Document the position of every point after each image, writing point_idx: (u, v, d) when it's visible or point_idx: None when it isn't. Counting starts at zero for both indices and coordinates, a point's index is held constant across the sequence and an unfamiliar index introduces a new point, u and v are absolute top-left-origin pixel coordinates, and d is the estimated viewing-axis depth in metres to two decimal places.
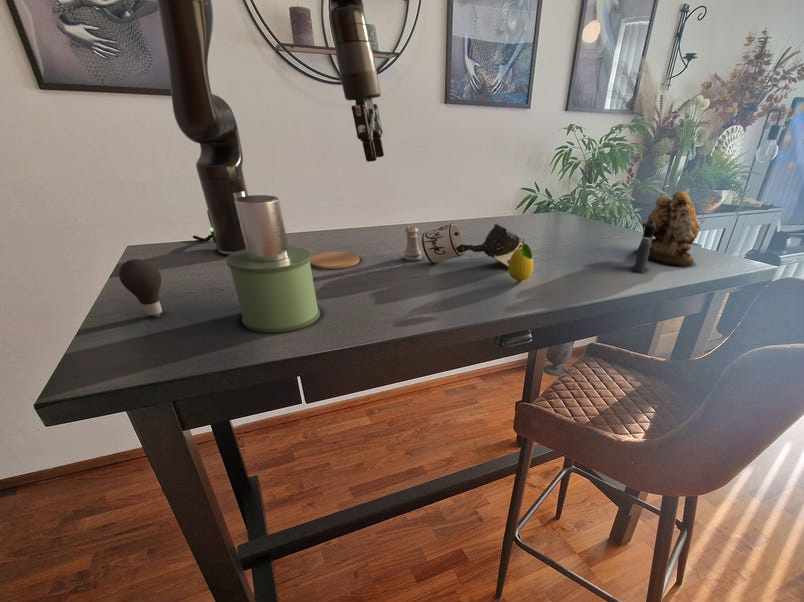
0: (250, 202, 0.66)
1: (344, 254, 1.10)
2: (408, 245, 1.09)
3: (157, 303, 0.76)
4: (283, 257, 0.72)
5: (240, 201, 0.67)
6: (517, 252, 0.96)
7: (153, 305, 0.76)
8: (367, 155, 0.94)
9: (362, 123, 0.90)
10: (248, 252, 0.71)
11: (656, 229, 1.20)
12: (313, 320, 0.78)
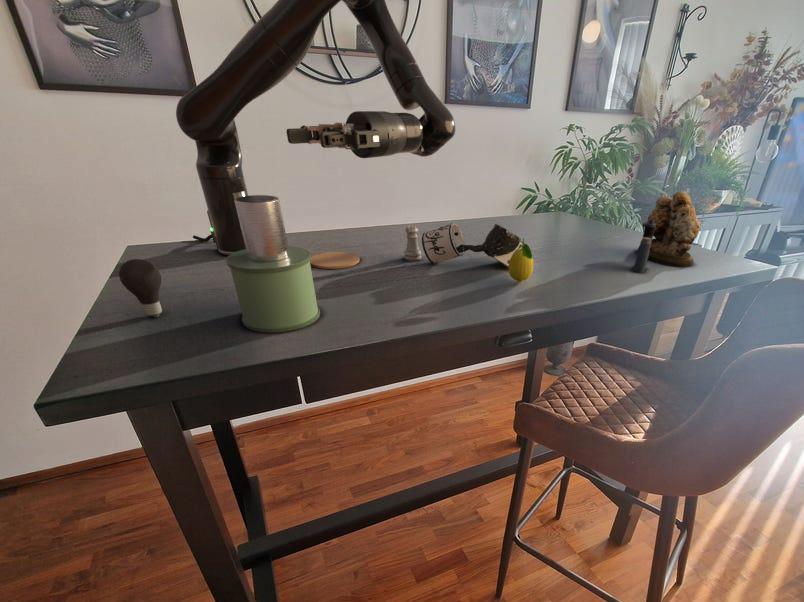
0: (250, 202, 0.66)
1: (344, 254, 1.10)
2: (408, 245, 1.09)
3: (157, 303, 0.76)
4: (283, 257, 0.72)
5: (240, 201, 0.67)
6: (517, 252, 0.96)
7: (153, 305, 0.76)
8: (332, 137, 0.70)
9: (367, 141, 0.74)
10: (248, 252, 0.71)
11: (656, 229, 1.20)
12: (313, 320, 0.78)
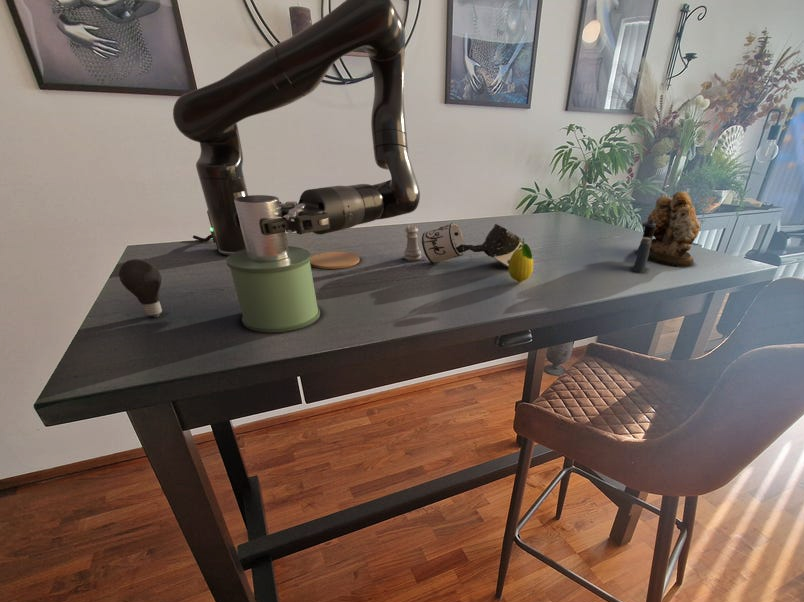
0: (250, 202, 0.66)
1: (344, 254, 1.10)
2: (408, 245, 1.09)
3: (157, 303, 0.76)
4: (283, 257, 0.72)
5: (240, 201, 0.67)
6: (517, 252, 0.96)
7: (153, 305, 0.76)
8: (272, 225, 0.68)
9: (313, 226, 0.71)
10: (248, 252, 0.71)
11: (656, 229, 1.20)
12: (313, 320, 0.78)
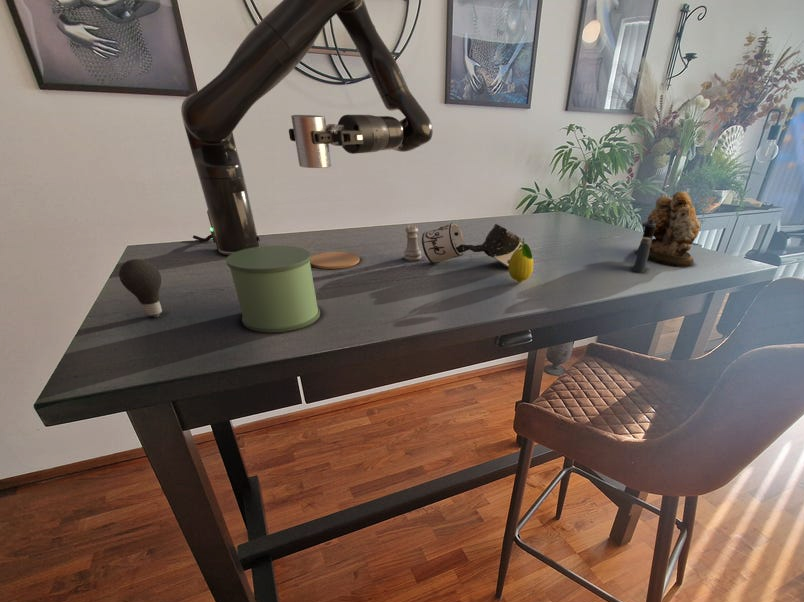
0: (304, 116, 0.85)
1: (344, 254, 1.10)
2: (408, 245, 1.09)
3: (157, 303, 0.76)
4: (327, 165, 0.91)
5: (296, 116, 0.86)
6: (517, 252, 0.96)
7: (153, 305, 0.76)
8: (320, 135, 0.87)
9: (351, 139, 0.90)
10: (300, 160, 0.90)
11: (656, 229, 1.20)
12: (313, 320, 0.78)
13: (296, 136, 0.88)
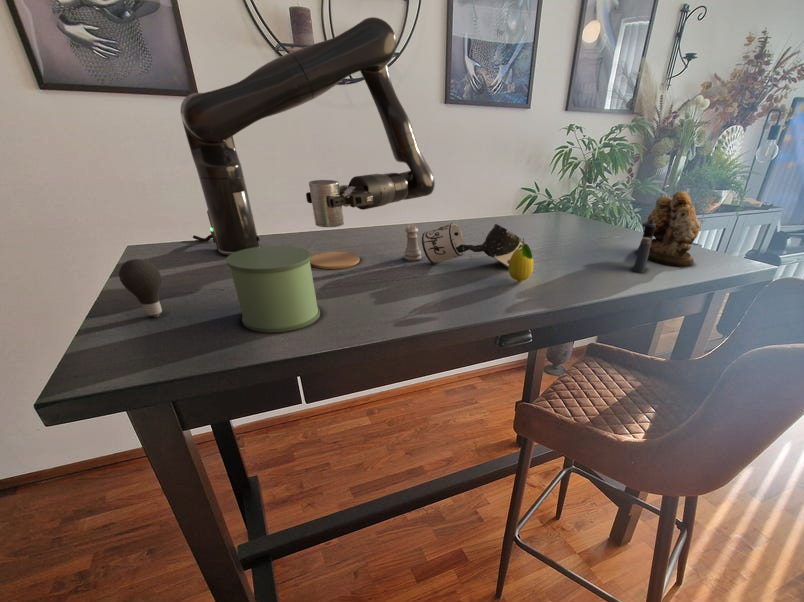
0: (320, 184, 0.95)
1: (344, 254, 1.10)
2: (408, 245, 1.09)
3: (157, 303, 0.76)
4: (340, 224, 1.02)
5: (313, 183, 0.96)
6: (517, 252, 0.96)
7: (153, 305, 0.76)
8: (335, 200, 0.97)
9: (362, 201, 1.00)
10: (316, 220, 1.00)
11: (656, 229, 1.20)
12: (313, 320, 0.78)
13: (313, 200, 0.98)
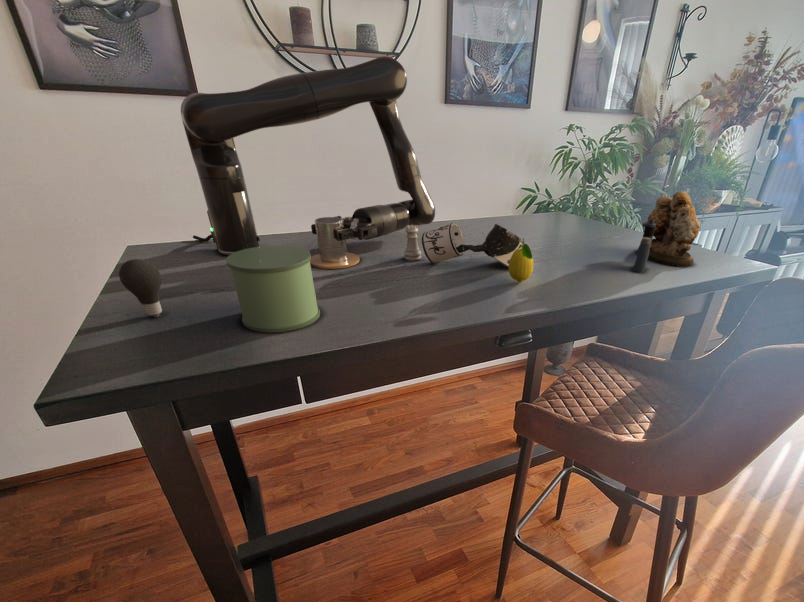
0: (326, 223, 1.00)
1: None
2: (408, 245, 1.09)
3: (157, 303, 0.76)
4: (344, 259, 1.06)
5: (319, 222, 1.00)
6: (517, 252, 0.96)
7: (153, 305, 0.76)
8: (343, 234, 1.01)
9: (368, 234, 1.04)
10: (321, 256, 1.04)
11: (656, 229, 1.20)
12: (313, 320, 0.78)
13: (319, 237, 1.02)
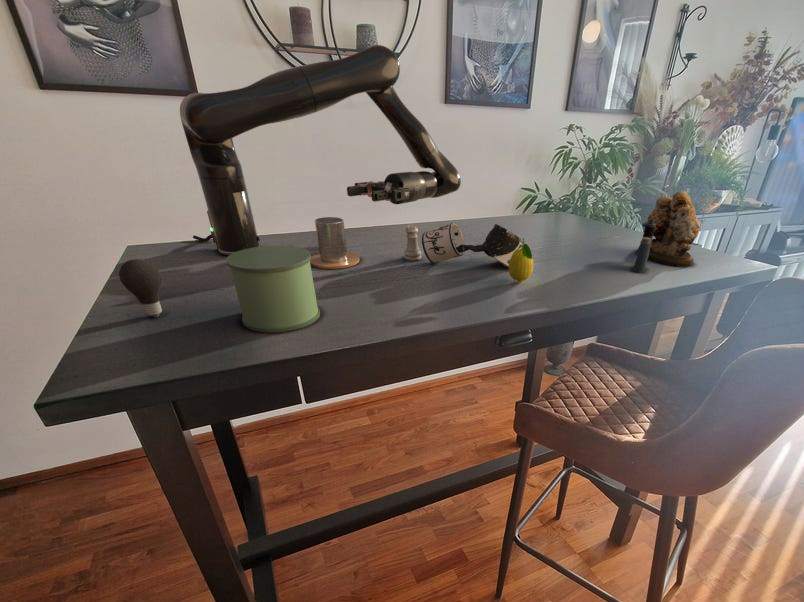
0: (326, 223, 1.00)
1: None
2: (408, 245, 1.09)
3: (157, 303, 0.76)
4: (344, 259, 1.06)
5: (319, 222, 1.00)
6: (517, 252, 0.96)
7: (153, 305, 0.76)
8: (379, 194, 1.05)
9: (401, 196, 1.09)
10: (321, 256, 1.04)
11: (656, 229, 1.20)
12: (313, 320, 0.78)
13: (319, 237, 1.02)
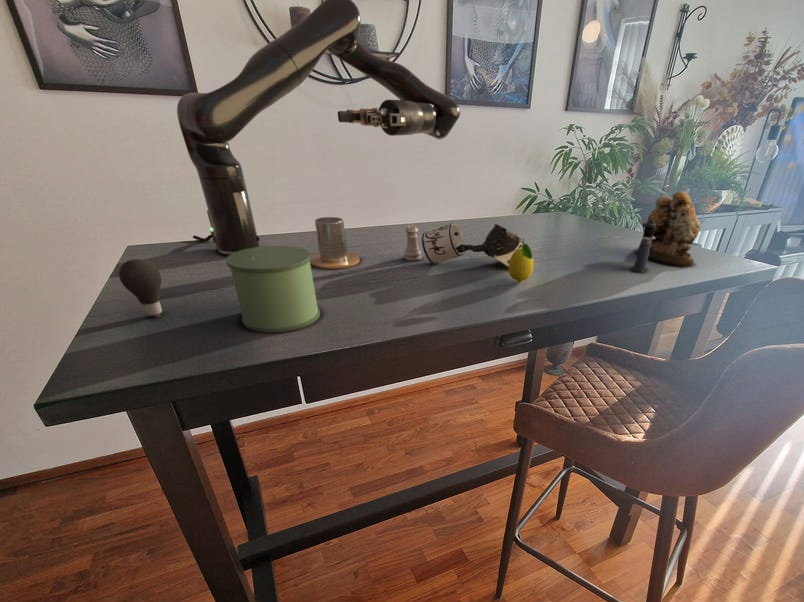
0: (326, 223, 1.00)
1: None
2: (408, 245, 1.09)
3: (157, 303, 0.76)
4: (344, 259, 1.06)
5: (319, 222, 1.00)
6: (517, 252, 0.96)
7: (153, 305, 0.76)
8: (372, 117, 0.97)
9: (397, 121, 1.00)
10: (321, 256, 1.04)
11: (656, 229, 1.20)
12: (313, 320, 0.78)
13: (319, 237, 1.02)
